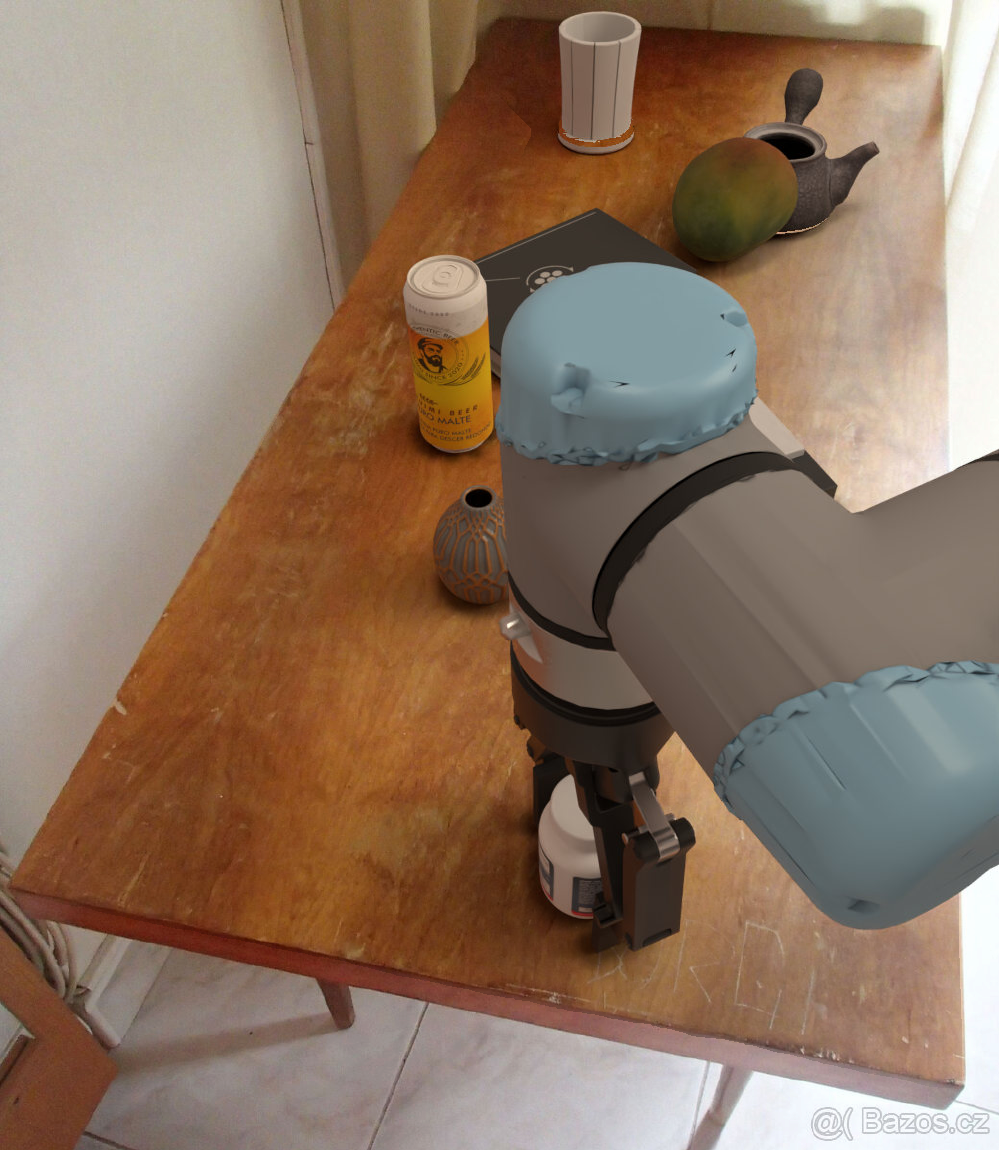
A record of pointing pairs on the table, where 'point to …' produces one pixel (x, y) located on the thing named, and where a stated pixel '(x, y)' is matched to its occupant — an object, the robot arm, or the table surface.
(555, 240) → the book
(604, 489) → the robot arm
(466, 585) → the vase
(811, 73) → the teapot
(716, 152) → the fruit
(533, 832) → the table surface
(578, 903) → the pill bottle
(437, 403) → the beer can
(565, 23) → the cup
